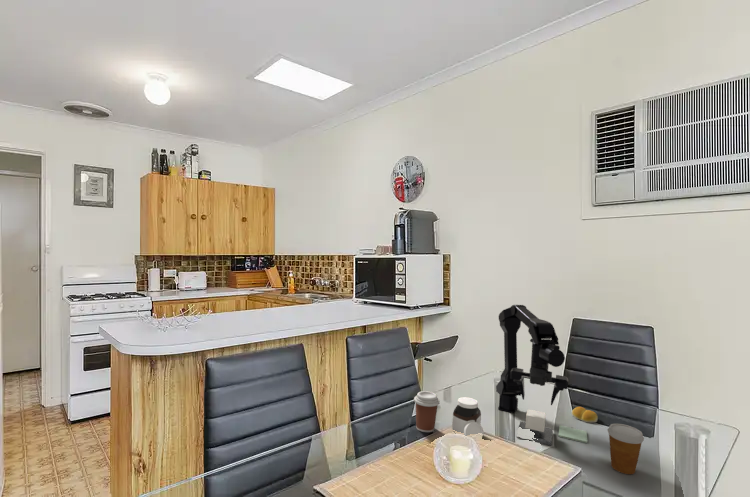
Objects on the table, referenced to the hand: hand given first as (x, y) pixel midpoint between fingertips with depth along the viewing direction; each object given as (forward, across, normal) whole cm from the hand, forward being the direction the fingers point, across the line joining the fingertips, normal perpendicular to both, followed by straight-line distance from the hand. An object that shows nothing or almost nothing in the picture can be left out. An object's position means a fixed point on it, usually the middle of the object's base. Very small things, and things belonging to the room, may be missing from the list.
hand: (537, 402), depth 146 cm
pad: (+12, +12, +8) cm, 18 cm away
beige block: (+9, 0, 0) cm, 9 cm away
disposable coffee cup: (+12, +26, -9) cm, 30 cm away
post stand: (+12, 0, 0) cm, 12 cm away
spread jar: (+12, -20, -14) cm, 27 cm away
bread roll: (+12, +16, +27) cm, 34 cm away
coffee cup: (+12, -35, -16) cm, 40 cm away
